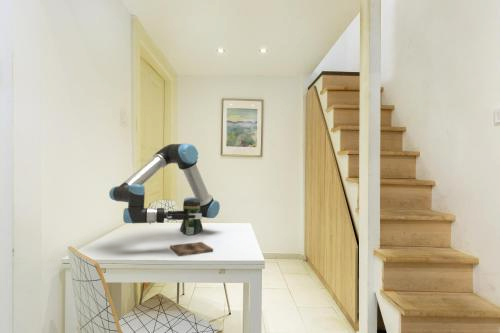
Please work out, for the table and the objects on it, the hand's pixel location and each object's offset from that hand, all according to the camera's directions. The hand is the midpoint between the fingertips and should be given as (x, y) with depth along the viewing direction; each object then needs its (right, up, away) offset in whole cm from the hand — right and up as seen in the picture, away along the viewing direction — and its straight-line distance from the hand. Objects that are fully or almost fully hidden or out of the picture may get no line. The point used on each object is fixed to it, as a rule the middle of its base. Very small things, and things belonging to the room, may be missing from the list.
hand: (200, 214), depth 160 cm
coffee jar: (-5, -10, -1) cm, 11 cm away
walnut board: (-5, -18, -1) cm, 19 cm away
